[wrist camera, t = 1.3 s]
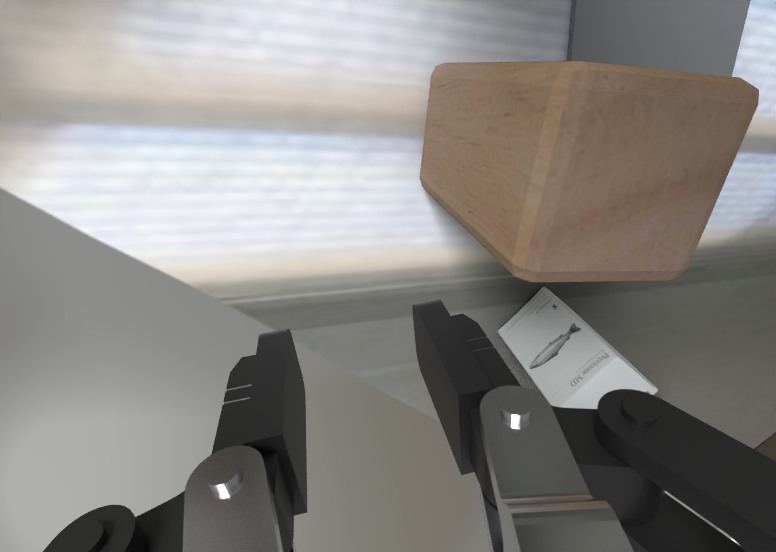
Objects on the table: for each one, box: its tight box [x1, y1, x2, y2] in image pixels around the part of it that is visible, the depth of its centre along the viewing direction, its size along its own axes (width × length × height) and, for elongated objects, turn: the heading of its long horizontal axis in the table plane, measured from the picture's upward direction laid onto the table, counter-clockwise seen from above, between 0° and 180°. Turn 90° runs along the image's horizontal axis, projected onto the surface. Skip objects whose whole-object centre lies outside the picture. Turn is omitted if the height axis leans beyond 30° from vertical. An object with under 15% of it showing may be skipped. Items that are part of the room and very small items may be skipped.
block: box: [420, 61, 759, 282], centre depth 28 cm, size 10×10×20 cm
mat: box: [567, 0, 750, 77], centre depth 38 cm, size 24×16×1 cm, turn 6°
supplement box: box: [498, 287, 658, 409], centre depth 42 cm, size 7×7×13 cm
